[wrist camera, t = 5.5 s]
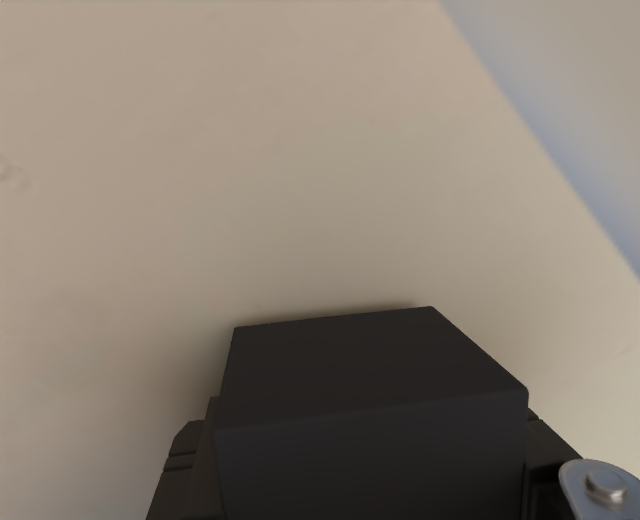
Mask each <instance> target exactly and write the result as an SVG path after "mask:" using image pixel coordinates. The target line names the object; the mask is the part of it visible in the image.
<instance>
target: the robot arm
mask: <svg viewBox="0 0 640 520" xmlns="http://www.w3.org/2000/svg"><path fill="white" fill-rule="evenodd" d="M218 399H219V396H214V397H211V398H210V401H209V405H208V408H207V412H206V416H205V419H203V420H195V421H189V422H188V423H187V424H186V425H185V426H184V427H183V428H182V429H181V430H180V432H179V433H178V434H177V435H176V436H175V437H174V440H173V443H172V446H171V449H170V452H169V458H167V460H166V463H165V466H164V469H163V470H164V471H163V473H162V474H161V477H160V480H159V483H158V486H157V489H156V491H155V494H154V497H153V500H152V503H151V506H150V508H149V511H148V514H147V517H146V520H226V514H225V510H223V508H222V505H221V498H220V491H219V485H218V478H217V472H216V465H215V458H214V452H213V445H212V438H211V430H212V426H213V421H214V417H215V412H216V408H217V403H218ZM520 520H640V480H639V479H638V478H636V477H635V476H633V475H632V474H630V473H629V472H627V471H625V470H623V469H621V468H619V467H617V466H614V465H612V464H609V463H606V462H602V461H598V460H592V459H584V458H582V457H581V456H580V455H579V454H578V453H577V452H576V451H575V450H574V449H573V448H572V447H571V446H570V445H568V444H567V443H566V442H565V441H564V440H563V439H562V438H561V437H560V436H559V435H558V434H557V433H556V432H554V431H553V430H552V429H551V428H550V427H549V426H548V425H547V424H546V423H545V422H544V421H543V420H542V419H540V420H539V418H538V416H537V415H536V414H535V413H534V412H533V411H532V410H531V409H530V408H528V414H527V430H526V446H525V462H524V470H523V487H522V503H521V519H520Z"/></svg>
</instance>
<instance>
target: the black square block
mask: <svg viewBox="0 0 640 520" xmlns="http://www.w3.org/2000/svg"><path fill="white" fill-rule="evenodd" d="M528 398H529V392H528V389H527V388H526V387H525V386H524V385H523V384H522V383H521V382H520V381H518V380H517V379H516V378H515V377H514V376H513V375H511V374H510V373H509V372H508V371H507V370H506V369H504V368H503V367H502V366H501V365H500V364H499V363H498V362H496V361H495V360H494V359H493V358H492V357H491V356H489V355H488V354H487V353H486V352H485V351H484V350H482V349H481V348H480V347H479V346H478V345H477V344H475V343H474V342H473V341H472V340H471V339H470V338H468V337H467V336H466V335H465V334H464V333H463V332H462V331H460V330H459V329H458V328H457V327H456V326H455V325H453V324H452V323H451V322H450V321H449V320H448V319H446V318H445V317H444V316H443V315H442V314H441V313H439V312H438V311H437V310H436V309H435V308H434V307H432V306H427V307H418V308H408V309H399V310H390V311H381V312H371V313H362V314H353V315H344V316H334V317H325V318H316V319H307V320H297V321H288V322H279V323H270V324H261V325H251V326H242V327H236V328H234V332H233V336H232V341H231V345H230V350H229V354H228V359H227V363H226V368H225V372H224V376H223V381H222V385H221V390H220V394H219V399H218V403H217V408H216V412H215V417H214V421H213V426H212V430H211V438H212V445H213V452H214V458H215V465H216V472H217V478H218V485H219V491H220V498H221V505H222V508H223V510H225V514H226V520H520V519H521V503H522V487H523V470H524V462H525V446H526V430H527V414H528Z"/></svg>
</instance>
